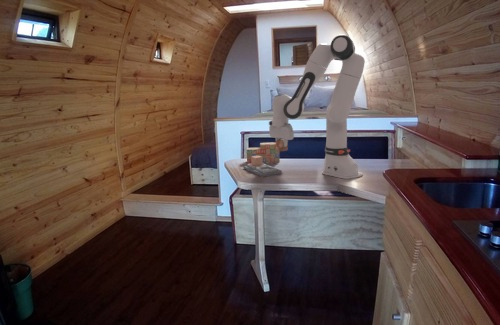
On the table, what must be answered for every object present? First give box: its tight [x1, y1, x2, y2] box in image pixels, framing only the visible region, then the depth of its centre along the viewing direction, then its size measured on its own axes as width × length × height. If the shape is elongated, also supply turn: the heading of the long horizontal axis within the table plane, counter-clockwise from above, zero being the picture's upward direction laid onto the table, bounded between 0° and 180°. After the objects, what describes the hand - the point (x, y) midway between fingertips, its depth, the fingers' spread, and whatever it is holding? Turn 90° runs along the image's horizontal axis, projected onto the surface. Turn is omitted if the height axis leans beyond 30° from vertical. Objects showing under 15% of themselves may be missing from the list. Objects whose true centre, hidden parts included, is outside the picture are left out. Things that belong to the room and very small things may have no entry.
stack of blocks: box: [246, 142, 281, 164], centre depth 205 cm, size 21×6×12 cm, turn 90°
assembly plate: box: [243, 156, 282, 178], centre depth 184 cm, size 22×13×8 cm, turn 29°
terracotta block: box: [275, 139, 289, 152], centre depth 186 cm, size 5×5×6 cm
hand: (281, 145), depth 186 cm, fingers closed on terracotta block, 5 cm apart
